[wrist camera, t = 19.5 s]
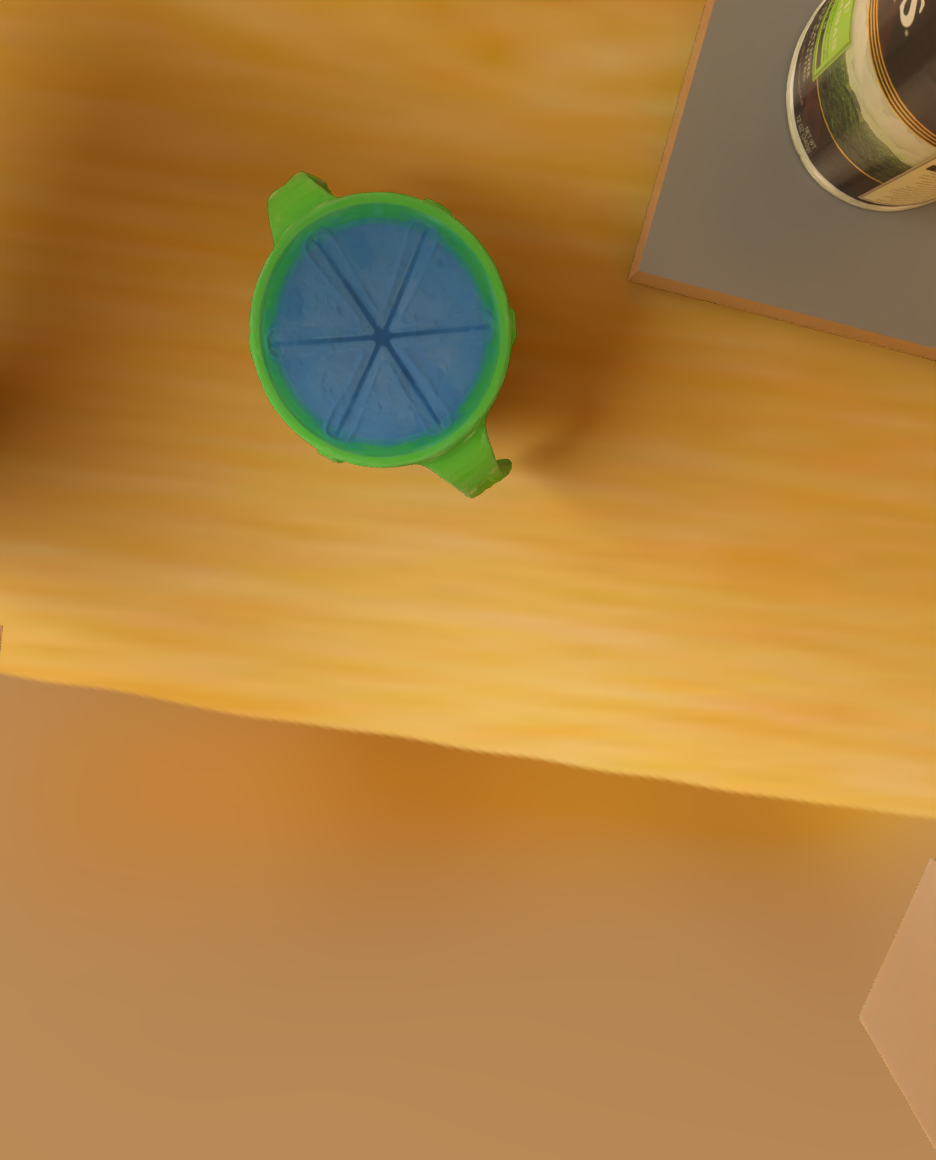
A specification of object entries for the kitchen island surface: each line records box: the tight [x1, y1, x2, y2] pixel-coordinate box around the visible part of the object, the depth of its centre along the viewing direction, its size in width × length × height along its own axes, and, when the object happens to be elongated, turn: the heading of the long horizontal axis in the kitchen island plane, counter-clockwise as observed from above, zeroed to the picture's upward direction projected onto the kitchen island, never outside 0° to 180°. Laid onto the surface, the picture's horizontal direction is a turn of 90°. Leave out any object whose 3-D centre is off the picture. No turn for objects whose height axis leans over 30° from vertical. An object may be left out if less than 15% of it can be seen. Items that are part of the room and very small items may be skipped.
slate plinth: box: [627, 0, 936, 361], centre depth 35 cm, size 18×20×3 cm
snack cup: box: [249, 171, 517, 498], centre depth 35 cm, size 16×10×10 cm
